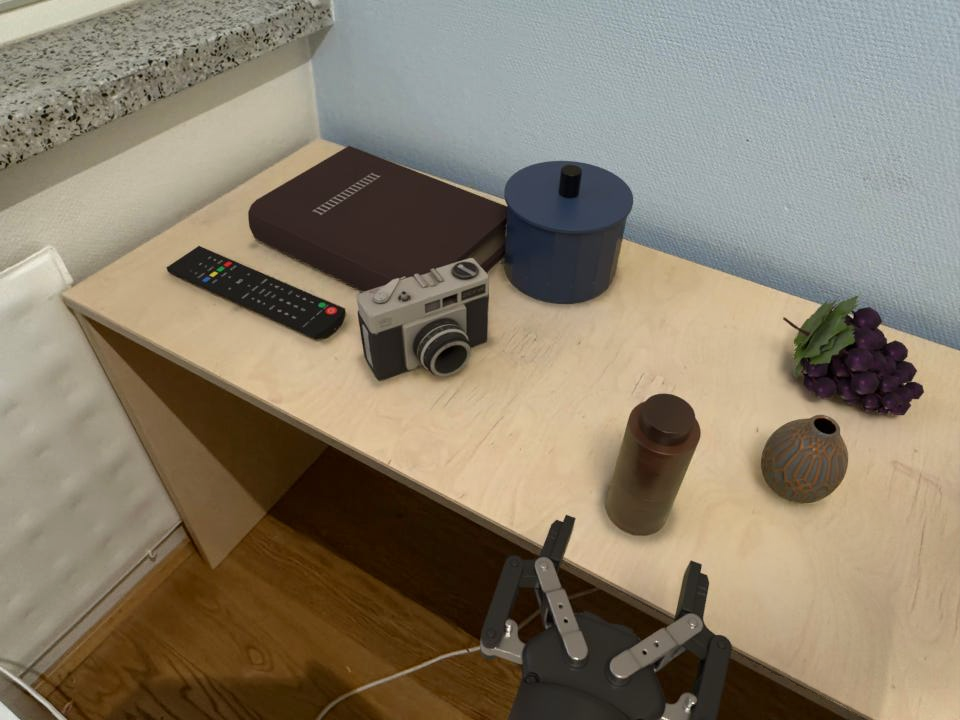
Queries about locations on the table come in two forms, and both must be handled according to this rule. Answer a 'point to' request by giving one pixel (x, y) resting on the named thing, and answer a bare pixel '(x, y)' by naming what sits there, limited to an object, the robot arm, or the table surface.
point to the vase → (805, 459)
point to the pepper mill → (652, 463)
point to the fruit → (854, 359)
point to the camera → (425, 320)
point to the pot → (560, 261)
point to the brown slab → (377, 221)
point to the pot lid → (568, 197)
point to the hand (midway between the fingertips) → (629, 544)
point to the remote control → (259, 293)
